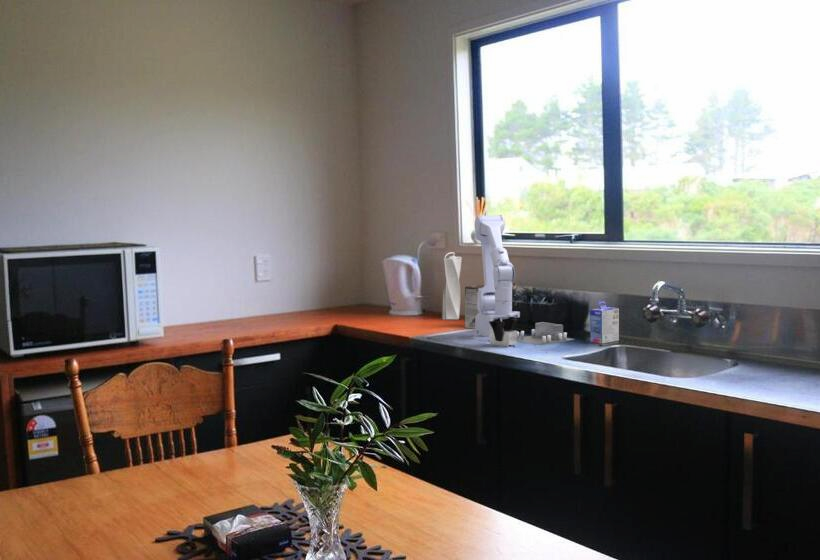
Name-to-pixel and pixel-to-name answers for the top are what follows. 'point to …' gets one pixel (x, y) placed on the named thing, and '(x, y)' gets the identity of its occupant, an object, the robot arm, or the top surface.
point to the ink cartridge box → (604, 324)
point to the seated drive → (548, 330)
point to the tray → (542, 340)
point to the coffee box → (471, 305)
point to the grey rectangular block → (504, 338)
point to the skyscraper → (452, 288)
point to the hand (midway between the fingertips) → (503, 340)
